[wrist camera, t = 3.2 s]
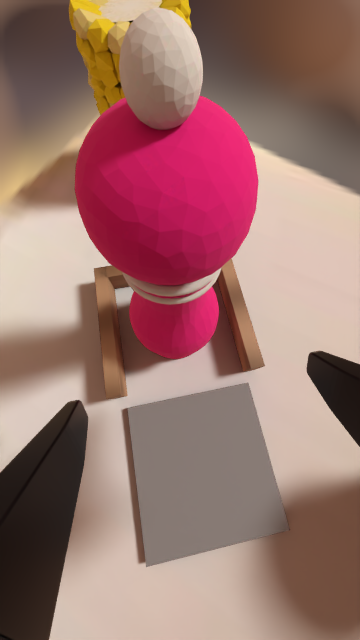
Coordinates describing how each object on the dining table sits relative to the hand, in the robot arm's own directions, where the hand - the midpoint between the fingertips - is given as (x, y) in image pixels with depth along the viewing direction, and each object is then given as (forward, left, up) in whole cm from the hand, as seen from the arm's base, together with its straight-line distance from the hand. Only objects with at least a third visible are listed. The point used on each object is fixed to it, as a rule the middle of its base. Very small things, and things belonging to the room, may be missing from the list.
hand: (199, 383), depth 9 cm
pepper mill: (+4, -5, -13) cm, 14 cm away
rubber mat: (-4, +4, -13) cm, 14 cm away
